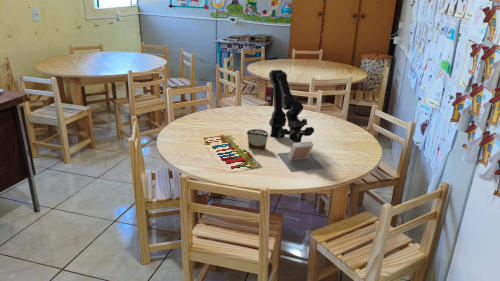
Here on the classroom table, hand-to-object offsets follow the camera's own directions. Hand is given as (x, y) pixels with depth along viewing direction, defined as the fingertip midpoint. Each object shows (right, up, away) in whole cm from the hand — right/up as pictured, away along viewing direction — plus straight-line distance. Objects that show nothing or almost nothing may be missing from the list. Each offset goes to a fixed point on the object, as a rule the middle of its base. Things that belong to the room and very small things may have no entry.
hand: (299, 147), depth 186 cm
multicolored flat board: (-37, -3, +9) cm, 38 cm away
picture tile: (0, -5, +3) cm, 6 cm away
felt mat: (0, -7, +1) cm, 7 cm away
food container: (-21, -1, +16) cm, 26 cm away
